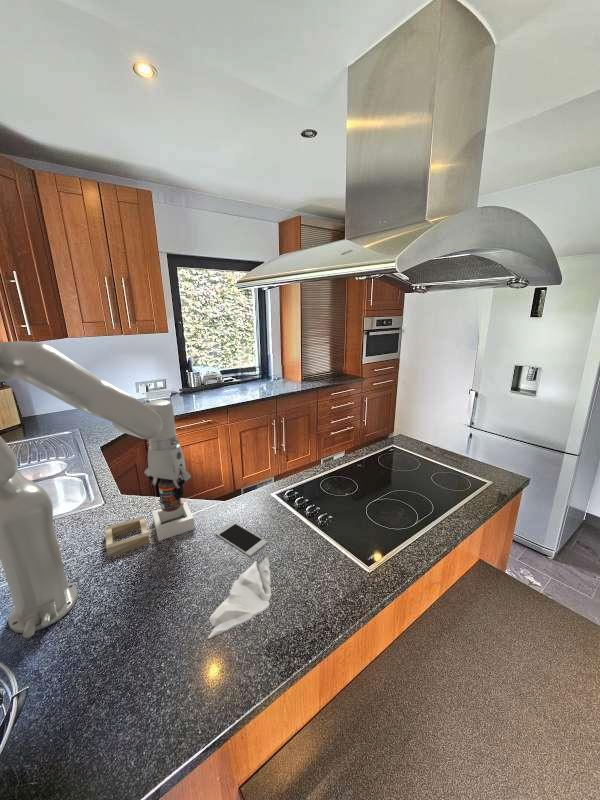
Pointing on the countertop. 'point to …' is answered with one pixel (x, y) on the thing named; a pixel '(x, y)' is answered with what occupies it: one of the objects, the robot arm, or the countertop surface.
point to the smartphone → (241, 538)
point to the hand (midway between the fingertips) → (170, 495)
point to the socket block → (175, 526)
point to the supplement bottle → (168, 495)
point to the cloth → (244, 598)
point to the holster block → (130, 542)
